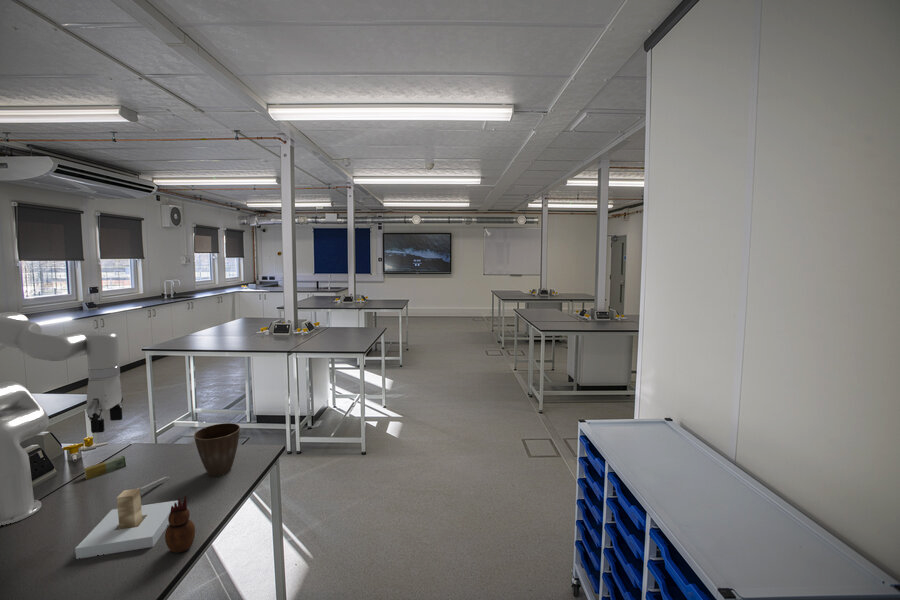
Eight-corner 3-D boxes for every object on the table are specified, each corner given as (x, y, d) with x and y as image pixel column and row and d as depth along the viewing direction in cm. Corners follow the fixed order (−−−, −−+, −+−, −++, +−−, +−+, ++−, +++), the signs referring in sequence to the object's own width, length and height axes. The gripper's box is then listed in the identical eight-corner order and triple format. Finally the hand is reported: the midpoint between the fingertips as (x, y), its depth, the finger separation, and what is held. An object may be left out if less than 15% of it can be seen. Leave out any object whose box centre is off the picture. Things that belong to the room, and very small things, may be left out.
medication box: (124, 465, 162) (123, 455, 162) (126, 466, 161) (125, 456, 160) (84, 478, 153) (83, 468, 152) (86, 480, 151) (85, 469, 151)
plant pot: (237, 458, 166) (235, 419, 164) (246, 472, 154) (244, 431, 153) (194, 470, 157) (191, 429, 155) (200, 486, 145) (197, 443, 144)
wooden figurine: (200, 541, 116) (196, 490, 115) (187, 555, 111) (183, 502, 109) (175, 542, 116) (171, 491, 115) (162, 556, 110) (157, 503, 109)
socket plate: (76, 559, 110) (75, 548, 110) (112, 518, 127) (112, 509, 127) (153, 546, 114) (152, 536, 114) (178, 509, 132) (177, 500, 132)
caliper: (124, 512, 131) (122, 493, 131) (121, 512, 131) (119, 493, 131) (170, 478, 151) (168, 462, 151) (167, 478, 151) (165, 462, 151)
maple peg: (120, 537, 119) (116, 497, 117) (127, 528, 122) (124, 490, 121) (136, 535, 119) (132, 495, 118) (143, 526, 123) (139, 488, 122)
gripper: (106, 366, 135) (109, 416, 137) (71, 381, 118) (75, 438, 120) (133, 365, 137) (135, 415, 139) (101, 379, 120) (104, 436, 122)
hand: (107, 425), depth 129 cm, fingers open, 9 cm apart
